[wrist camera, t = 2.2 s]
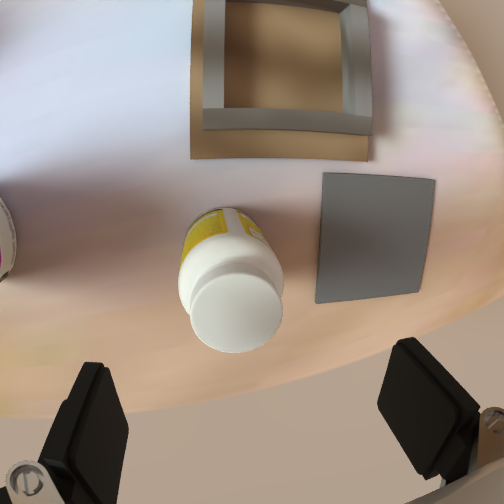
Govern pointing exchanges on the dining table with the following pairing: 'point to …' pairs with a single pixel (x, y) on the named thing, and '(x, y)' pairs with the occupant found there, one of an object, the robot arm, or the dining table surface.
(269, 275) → the supplement bottle
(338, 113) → the block
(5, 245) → the supplement can
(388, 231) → the mat
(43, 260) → the dining table surface
